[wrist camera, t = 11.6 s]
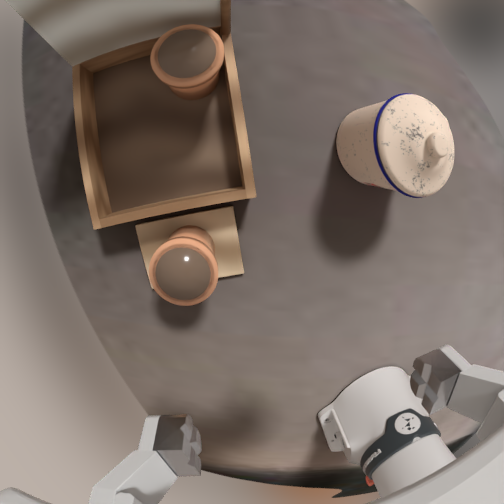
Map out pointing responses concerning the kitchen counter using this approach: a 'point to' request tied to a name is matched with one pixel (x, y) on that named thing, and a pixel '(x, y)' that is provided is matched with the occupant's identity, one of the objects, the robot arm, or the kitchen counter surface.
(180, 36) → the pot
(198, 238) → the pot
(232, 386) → the kitchen counter surface
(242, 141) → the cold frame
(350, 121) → the teacup with lid
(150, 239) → the cork mat
